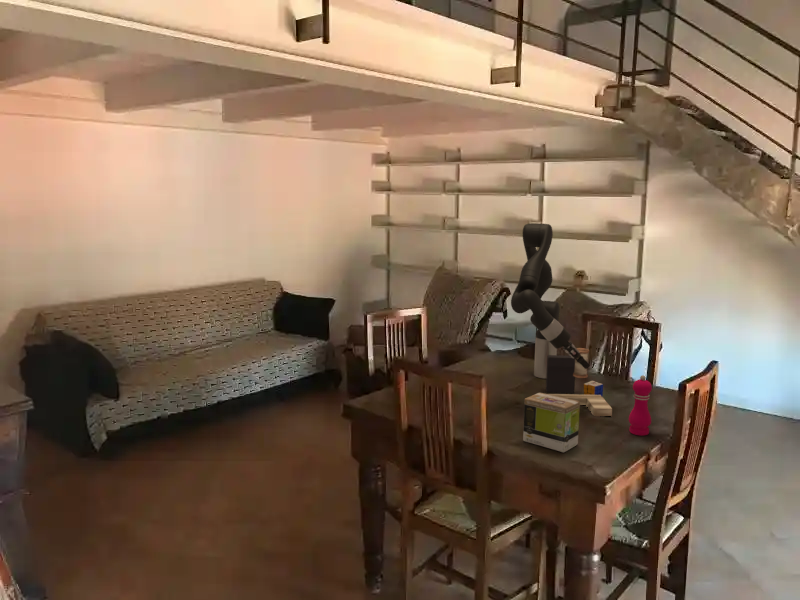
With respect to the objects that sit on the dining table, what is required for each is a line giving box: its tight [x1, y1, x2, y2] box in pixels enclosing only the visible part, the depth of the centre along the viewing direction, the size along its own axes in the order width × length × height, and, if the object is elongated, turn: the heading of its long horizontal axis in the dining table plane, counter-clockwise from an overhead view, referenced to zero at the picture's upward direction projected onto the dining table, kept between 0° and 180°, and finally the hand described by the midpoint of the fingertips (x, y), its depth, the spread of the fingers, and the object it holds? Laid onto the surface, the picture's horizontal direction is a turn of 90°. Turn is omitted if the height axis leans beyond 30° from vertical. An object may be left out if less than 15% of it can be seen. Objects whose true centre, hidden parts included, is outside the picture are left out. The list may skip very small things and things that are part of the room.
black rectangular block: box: [545, 354, 576, 394], centre depth 266 cm, size 11×4×15 cm, turn 84°
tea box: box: [522, 392, 581, 453], centre depth 213 cm, size 15×10×15 cm
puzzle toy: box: [583, 380, 604, 397], centre depth 262 cm, size 6×5×6 cm
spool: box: [573, 347, 590, 379], centre depth 244 cm, size 5×5×10 cm
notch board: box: [548, 393, 613, 418], centre depth 247 cm, size 16×20×3 cm
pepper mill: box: [628, 374, 653, 437], centre depth 223 cm, size 7×7×20 cm
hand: (586, 365), depth 245 cm, fingers closed on spool, 4 cm apart
